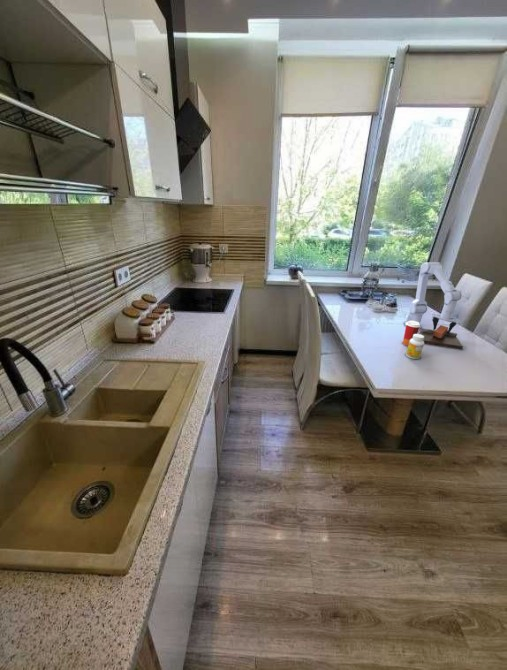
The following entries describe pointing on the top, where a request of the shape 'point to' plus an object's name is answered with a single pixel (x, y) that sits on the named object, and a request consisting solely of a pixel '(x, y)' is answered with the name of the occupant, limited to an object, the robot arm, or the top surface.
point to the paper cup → (410, 331)
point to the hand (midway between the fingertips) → (441, 331)
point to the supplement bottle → (415, 346)
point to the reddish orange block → (440, 332)
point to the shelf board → (446, 341)
